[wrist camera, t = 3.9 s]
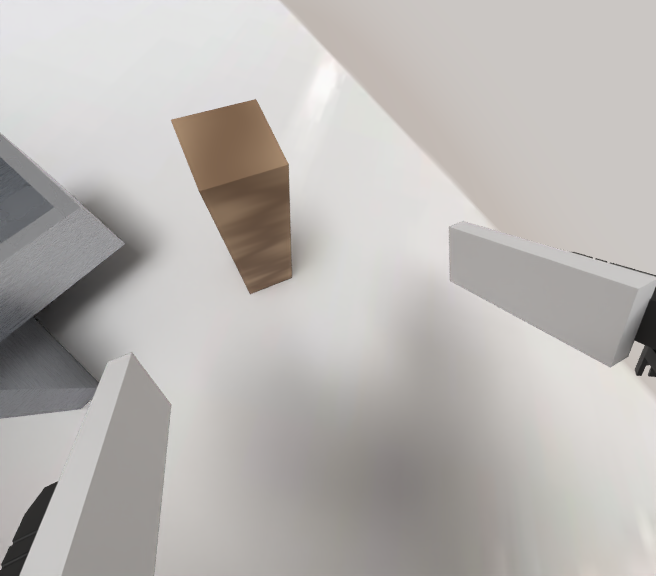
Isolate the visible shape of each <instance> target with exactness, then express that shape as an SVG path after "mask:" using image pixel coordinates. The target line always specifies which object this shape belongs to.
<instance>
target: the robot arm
mask: <svg viewBox="0 0 656 576" xmlns="http://www.w3.org/2000/svg"><path fill="white" fill-rule="evenodd" d="M449 263H450V281H451V282H453V283H455V284H457V285H459V286H461V287H462V288H464V289H466V290H468V291H470V292H472V293H473V294H475V295H477V296H479V297H481V298H483V299H485V300H486V301H488V302H490V303H492V304H494V305H496V306H497V307H499V308H501V309H503V310H505V311H507V312H509V313H510V314H512V315H514V316H516V317H518V318H520V319H522V320H523V321H525V322H527V323H529V324H531V325H533V326H534V327H536V328H538V329H540V330H542V331H544V332H546V333H547V334H549V335H551V336H553V337H555V338H557V339H559V340H560V341H562V342H564V343H566V344H568V345H570V346H571V347H573V348H575V349H577V350H579V351H581V352H583V353H584V354H586V355H588V356H590V357H592V358H594V359H596V360H597V361H599V362H601V363H603V364H605V365H607V366H608V367H612V366H614V365H615V364H617V363H618V362H620V361H622V360H623V359H625V358H627V357H628V356H629V353H630V351H631V348H632V345H633V343H634V340H635V341H637V342H639V343H642V344H644V345H645V346H644V349H643V351H642V353H641V356H640V358H639V361H638V363H637V365H636V368H635V372H636V376H641V375H642V373H643V371H644V369H645V367H646V365H650V366H651V368H650V370H649V373H648V376H651V377H656V275H653V274H649V273H646V272H642V271H638V270H635V269H632V268H628V267H624V266H621V265H617V264H614V263H607V261H603V260H600V259H597V258H596V259H593V258H592V257H590V256H586V255H582V254H579V253H575V252H568V251H565V250H561V249H558V248H554V247H551V246H547V245H544V244H541V243H537V242H534V241H530V240H527V239H523V238H520V237H516V236H513V235H509V234H506V233H502V232H499V231H496V230H492V229H489V228H485V227H482V226H478V225H475V224H471V223H468V222H464V221H462V222H459V223H457V224H454V225H452V226H449ZM170 413H171V403H170V402H169V401H168V400H167V398H166V397H165V396H164V394H163V393H162V392H161V390H160V389H159V388H158V386H157V385H156V384H155V382H154V381H153V380H152V378H151V377H150V376H149V374H148V373H147V372H146V370H145V369H144V368H143V366H142V365H141V364H140V362H139V361H138V360H137V358H136V357H135V356H134V354H133V353H132V352H131V353H129V354H126V355H124V356H121V357H119V358H116V359H114V360H111V361H109V362H108V363H107V365H106V367H105V370H104V372H103V375H102V377H101V379H100V382H99V384H98V387H97V389H96V392H95V394H94V396H93V399H92V401H91V404H90V406H89V409H88V411H87V413H86V416H85V418H84V421H83V423H82V425H81V428H80V430H79V433H78V435H77V438H76V440H75V442H74V445H73V447H72V450H71V452H70V454H69V457H68V459H67V462H66V464H65V467H64V469H63V471H62V474H61V476H60V479H59V481H58V482H55V483H53V484H51V485H49V486H47V487H45V488H44V489H43V491H42V492H41V493H40V495H39V496H38V497H37V499H36V500H35V501H34V503H33V504H32V505H31V507H30V508H29V509H28V511H27V512H26V513H25V515H24V517H23V519H22V521H21V523H20V526H19V528H18V530H17V532H16V534H15V536H14V538H13V541H12V542H13V545H12V546H10V547H9V549H8V551H7V553H6V556H5V558H4V560H3V562H2V564H1V565H2V569H1V570H0V576H154V572H155V562H156V552H157V542H158V532H159V522H160V512H161V502H162V493H163V483H164V473H165V463H166V453H167V443H168V433H169V423H170Z"/></svg>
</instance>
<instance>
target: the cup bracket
mask: <svg viewBox="0 0 656 576" xmlns="http://www.w3.org/2000/svg"><path fill="white" fill-rule="evenodd" d="M124 244H125V243H124V242H123V241H122V240H120V239H119V238H118V237H117V236H116V235H115V234H114V233H113V232H112V231H111V230H110V229H108V228H107V227H106V226H105V225H104V224H103V223H102V222H101V221H100V220H99V219H97V218H96V217H95V216H94V215H93V214H92V213H91V212H90V211H89V210H88V209H87V208H85V207H84V206H83V205H82V204H81V203H80V202H79V201H78V200H77V199H76V198H74V197H73V196H72V195H71V194H70V193H69V192H68V191H67V190H66V189H65V188H63V187H62V186H61V185H60V184H59V183H58V182H57V181H56V180H55V179H54V178H53V177H51V176H50V175H49V174H48V173H47V172H46V171H45V170H43V169H42V168H41V167H40V166H39V165H38V164H36V163H35V162H34V161H33V160H32V159H31V158H29V157H28V156H27V155H26V154H25V153H24V152H22V151H21V150H20V149H19V148H18V147H16V146H15V145H14V144H13V143H12V142H11V141H9V140H8V139H7V138H6V137H5V136H4V135H2V134H1V133H0V419H1V418H10V417H18V416H26V415H35V414H43V413H52V412H60V411H69V410H77V409H81V408H82V407H83V406H84V405H85V404H86V403H87V402H88V401H89V400H91V399H92V398H93V396H94V394H95V392H96V389H97V387H98V384H99V383H98V382H97V381H96V380H95V379H94V378H93V377H92V376H91V375H90V374H89V373H88V372H87V371H86V370H85V369H84V368H83V367H82V366H81V365H80V364H79V363H78V362H77V361H76V360H75V359H74V358H73V357H72V356H71V355H70V354H69V353H68V352H67V351H66V350H65V349H64V348H63V347H62V346H61V345H60V344H59V343H58V342H57V341H56V340H55V339H54V338H53V336H52V335H51V334H50V333H49V332H48V331H47V330H46V329H45V328H44V327H43V326H42V325H41V324H40V323H39V322H38V321H37V320H36V319H35V318H34V317H33V316H34V315H35V314H37V313H38V312H39V311H40V310H42V309H43V308H44V307H45V306H47V305H48V304H49V303H51V302H52V301H53V300H54V299H56V298H57V297H58V296H59V295H61V294H62V293H63V292H65V291H66V290H67V289H68V288H70V287H71V286H72V285H73V284H75V283H76V282H77V281H79V280H80V279H81V278H82V277H84V276H85V275H86V274H87V273H89V272H90V271H91V270H93V269H94V268H95V267H96V266H98V265H99V264H100V263H101V262H103V261H104V260H105V259H107V258H108V257H109V256H110V255H112V254H113V253H114V252H115V251H117V250H118V249H119V248H121V247H122V246H123V245H124Z"/></svg>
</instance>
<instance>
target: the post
mask: <svg viewBox="0 0 656 576" xmlns="http://www.w3.org/2000/svg"><path fill="white" fill-rule="evenodd" d="M171 122H172V124H173V127H174V129H175V132H176V134H177V137H178V139H179V142H180V144H181V147H182V149H183V152H184V154H185V157H186V159H187V162H188V165H189V167H190V170H191V172H192V175H193V177H194V180H195V182H196V185H197V187H198V190H199V192H200V194H201V196H202V198H203V200H204V202H205V204H206V206H207V208H208V210H209V212H210V214H211V216H212V218H213V220H214V222H215V224H216V226H217V228H218V230H219V232H220V234H221V236H222V238H223V240H224V242H225V244H226V246H227V248H228V251H229V253H230V255H231V257H232V259H233V261H234V263H235V265H236V267H237V269H238V271H239V273H240V275H241V277H242V279H243V281H244V283H245V285H246V287H247V289H248V291H249V293H250V294H252V293H254V292H257V291H259V290H262V289H264V288H267V287H270V286H272V285H275V284H277V283H280V282H282V281H285V280H287V279H290V278H292V269H291V233H290V197H289V164H288V162H287V160H286V158H285V156H284V154H283V152H282V150H281V148H280V146H279V144H278V142H277V140H276V138H275V136H274V134H273V132H272V130H271V128H270V126H269V124H268V122H267V120H266V118H265V116H264V114H263V112H262V110H261V108H260V106H259V104H258V102H257V100H256V99H255V100H251V101H247V102H242V103H238V104H234V105H230V106H226V107H222V108H218V109H214V110H209V111H205V112H201V113H197V114H193V115H189V116H185V117H181V118H177V119H172V120H171Z"/></svg>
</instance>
